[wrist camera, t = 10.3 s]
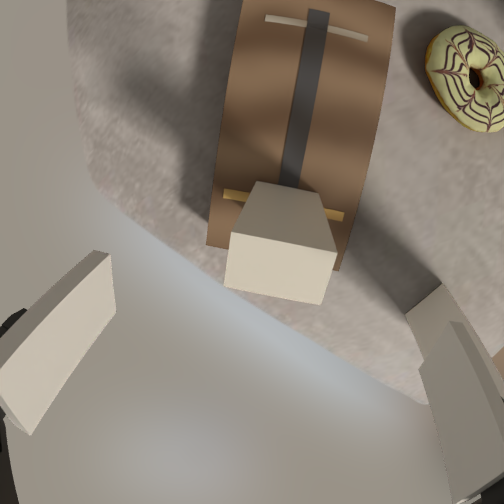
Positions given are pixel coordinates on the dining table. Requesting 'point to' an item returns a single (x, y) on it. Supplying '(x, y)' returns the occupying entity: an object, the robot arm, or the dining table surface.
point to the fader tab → (281, 245)
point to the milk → (435, 320)
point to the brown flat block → (302, 107)
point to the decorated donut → (457, 77)
